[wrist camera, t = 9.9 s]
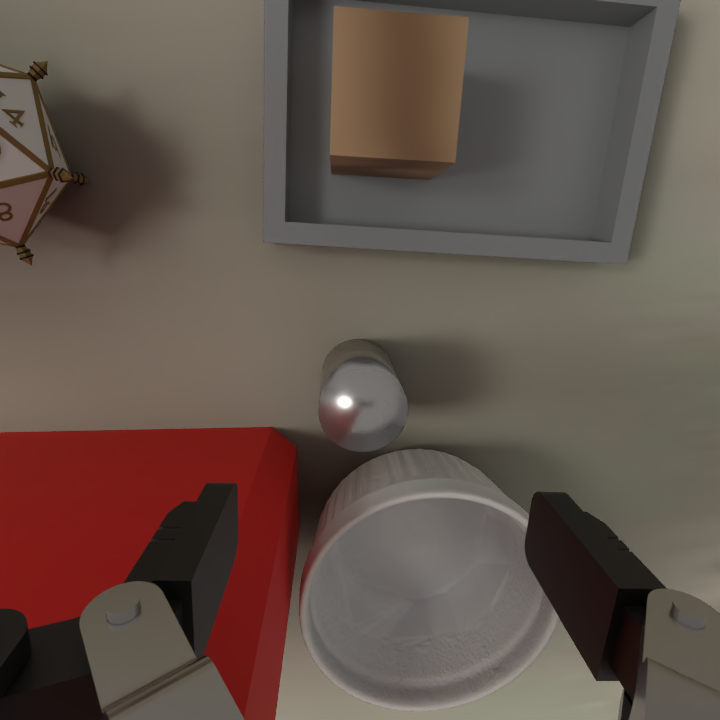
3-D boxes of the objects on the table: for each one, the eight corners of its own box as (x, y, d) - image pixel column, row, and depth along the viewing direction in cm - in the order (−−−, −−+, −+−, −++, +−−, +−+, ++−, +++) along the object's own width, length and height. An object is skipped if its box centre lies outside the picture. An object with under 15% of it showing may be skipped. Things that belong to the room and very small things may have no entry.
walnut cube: (331, 174, 22) (329, 154, 17) (334, 60, 21) (334, 6, 16) (429, 180, 23) (455, 162, 18) (439, 68, 21) (469, 17, 16)
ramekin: (550, 480, 28) (618, 555, 21) (448, 635, 31) (480, 744, 24) (365, 394, 26) (375, 447, 19) (272, 568, 29) (253, 667, 22)
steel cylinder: (321, 404, 26) (316, 450, 20) (323, 337, 25) (320, 366, 19) (389, 407, 26) (404, 453, 20) (394, 340, 25) (411, 369, 19)
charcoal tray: (270, 242, 23) (263, 242, 21) (273, -27, 20) (264, -63, 18) (598, 262, 25) (626, 264, 22) (645, 10, 22) (684, -19, 19)
